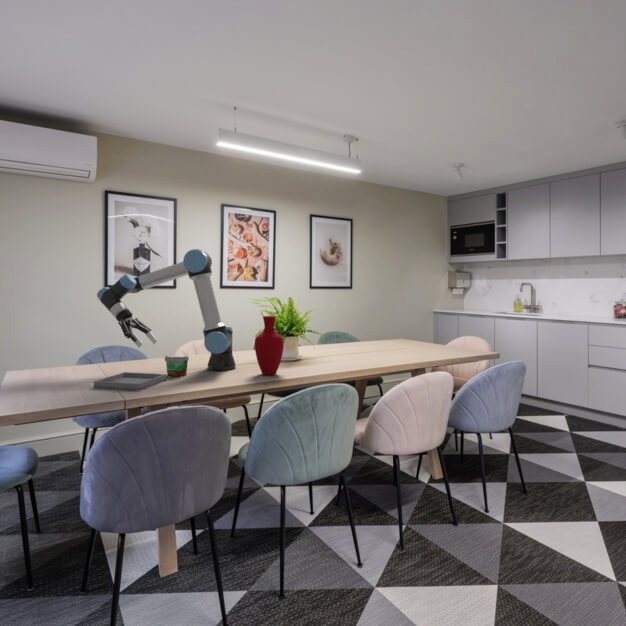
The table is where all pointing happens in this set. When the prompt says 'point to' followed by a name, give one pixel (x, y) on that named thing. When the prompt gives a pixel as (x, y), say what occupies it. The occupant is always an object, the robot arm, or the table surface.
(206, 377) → the table surface
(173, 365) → the food container
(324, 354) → the table surface
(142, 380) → the gray square tray
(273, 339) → the vase
